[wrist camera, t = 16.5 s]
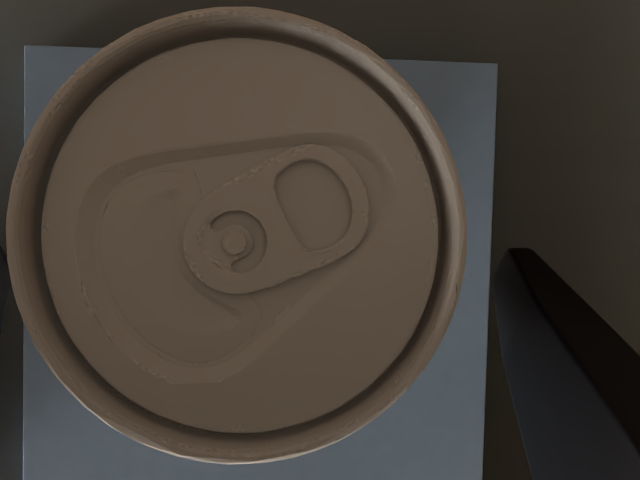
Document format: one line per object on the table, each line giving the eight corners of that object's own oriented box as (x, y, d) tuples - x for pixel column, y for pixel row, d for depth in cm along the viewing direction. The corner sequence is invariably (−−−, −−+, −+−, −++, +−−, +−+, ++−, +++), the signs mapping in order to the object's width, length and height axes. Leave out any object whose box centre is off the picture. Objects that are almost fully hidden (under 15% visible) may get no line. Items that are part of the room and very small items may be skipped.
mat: (468, 605, 21) (477, 625, 20) (35, 609, 20) (21, 630, 19) (488, 70, 20) (498, 63, 19) (37, 53, 19) (23, 44, 18)
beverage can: (144, 180, 18) (-133, 110, 6) (319, 96, 19) (365, -122, 7) (230, 352, 19) (120, 590, 7) (401, 269, 19) (585, 357, 7)
